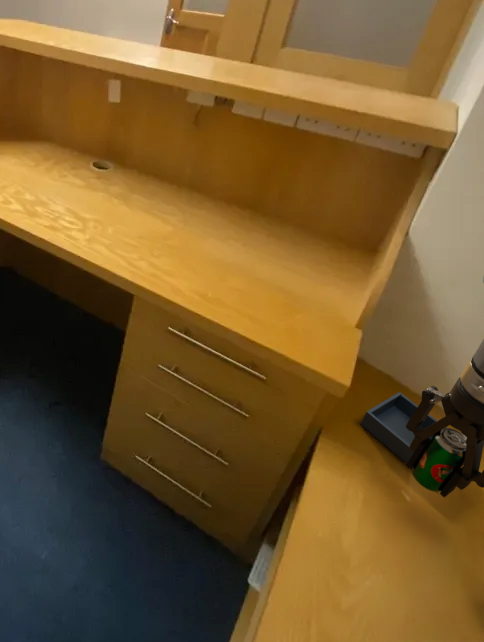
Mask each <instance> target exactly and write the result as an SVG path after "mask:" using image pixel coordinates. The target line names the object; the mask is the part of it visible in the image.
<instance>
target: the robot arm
mask: <svg viewBox="0 0 484 642" xmlns="http://www.w3.org/2000/svg"><path fill="white" fill-rule="evenodd" d="M482 282H483V283H484V275H483V277H482ZM460 374H461V375H460V376H459V378H458V379H457V380H456V382H455V383H454V385H453V386H452V388H451V389H450V390H449V392H447V393H444V392H441V391H439V389H438V387H437V386H435V385H430V386H428V387H427V388H425V389H424V390H422V391H421V401H420V402H419V404H418V405H417V406H418V407H417V409H416V410H415V412H414V414H413V415H412V417H411V418H410V420H409V421H408V423H407V424H406V428H407V429H408V430H409V431H412V432H413V433H414V435H415V438H414V439H413V441H412V443H411V444H410V449H411V450H413V451H414V453H413V455H412V456H411V458H410V459H409V461H408V463H407V464H406V463H405V466H406V467H407V468H408V469H412V467H413V466H414V465H415V463H416V462H417V460H418V459H419V457H420V456H421V454H422V453H423V451H424V449H425V448H426V446H427V445H428V443H429V442H430V440H431V439H430V438H429V437H430V436H432V435H433V434H435V433H437V432H438V431H440V430H442V429H444V428H448V427H449V426H451V427H452V428H453V429H454V430H457V431H459V432H460V433H462V434H463V435H464V436H466V437H467V438H466V444H467V447H466V452H465V458H464V464H463V466H462V467H461V468H460V469H459V470H458V471H456V472H455V473H454V475H453V476H452V477H451V479H450V480H449V481H448V483H447V484H446V486H445V487H444V488H443V490H442V491H441V492H439V495H440V496H441V497H443V498H446V497H447V496H448V495H450V494H451V493H452V492H454V490H455V489H456V488H457V489H459V491H463V490H465V489H466V488H467V487H468V486H469V485H470V484H471V483H472V482H474V483H475V484H476V485H477V486H478V487H479V488H482V489H483V488H484V469H483V470H482V471H480V468H481V462H482V457H483V451H484V338H483V339H482V341H481V343H480V344H479V346H478V347H477V349H476V350H475V352H474V354H473V356H472V357H471V358H470V360H469V361H468V363H467V364H466V366H465V367H464V369H463V370H462V372H461V373H460ZM440 402H441V405H442V408H443V412H444V415H445V416H443V417H442V418H440V419H437V422H435V423H433V424H432V425H430V426H429V427H427V428H425V429H423V427H422V426H421V424H422V423H423V421H424V420H425V419H426V417H427V416H428V414H429V415H430V412H432V410H433V408H434V407H435V405H436V404H438V403H440Z"/></svg>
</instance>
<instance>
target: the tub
mask: <svg viewBox="0 0 484 642" xmlns="http://www.w3.org/2000/svg"><path fill="white" fill-rule="evenodd" d="M418 406H419V405H418V404H416V402H414V401H412V400H411V399H409V398H408V397H407V396H406V395H405V394H404V393H402V392H401V391H399V392H397V393H395V394H393V395H392V396H389V398H387V399H386V400H384V401H382V402H380V403H379V404H377V405H375V406H374V407H372V408H370V409H369V410H367V411H366V412H365V413H364V415H363V418H362V420H361V421H360V423H359V424H360V425H361V426H362V428H364V429H365V430H367V431H368V432H369V433H370V434H371V435H372V436H374V437H375V438H376V439H377V440H378V441H379V442H381V443H382V445H384V446H385V447H387V448H388V450H390V451H391V452H393V453H394V455H396V456H397V457H398V458H399V459H400V460H402V461H403V462H404V463H405V465H406V464H407V463H408V461H409V459H410V458H411V456H412V455H413V453H414V451H413V450H411V449H410V444H411V443H412V441H413V439H414V438H415V435H414V433H413V432H412V431H409V430H408V429H407V428H406V424H407V423H408V421H409V420H410V418H411V417H412V415H413V414H414V412H415V410H416V409H417V407H418ZM437 421H438V419H436V418H435V417H433V416H432V415H431V414H430V413H429V414H428V416H427V417H426V419H425V420H424V421H423V423H422V424H421V426H422V427H423V429H425V428H427V427H429V426H430V425H432V424H433V423H435V422H437ZM433 436H434V434H433V435H432V436H430V437H429V438H430V439H432V437H433ZM412 468H413V467H412ZM412 468H411V469H412Z"/></svg>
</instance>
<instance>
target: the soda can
mask: <svg viewBox="0 0 484 642" xmlns="http://www.w3.org/2000/svg"><path fill="white" fill-rule="evenodd" d="M466 438H467V437H466V436H464V435H463V434H462V433H461V432H460V431H459V430H457V429H455V428H451V427H446V428H444V429H442V430H440V431H438V432H437V433H435V434H434V436H433V437H432V439H431V440H430V442H429V443H428V445H427V446H426V448H425V449H424V451H423V453H422V454H421V456H420V457H419V459H418V460H417V462H416V463H415V465H414V466H413V468H411V473H412V477H413V478H414V480H415V481H416V483H418V485H420V486H421V487H422V488H424V489H426V490H428V491H430V492H434V493H440V492H441V491H442V490H443V488H444V487H445V486H446V484H447V483H448V481H449V480H450V479H451V477H452V476H453V475H454V473H455V472H456V471H458V470H459V469H460V468H462V467H463V464H464V458H465V452H466V447H467V444H466Z"/></svg>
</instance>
